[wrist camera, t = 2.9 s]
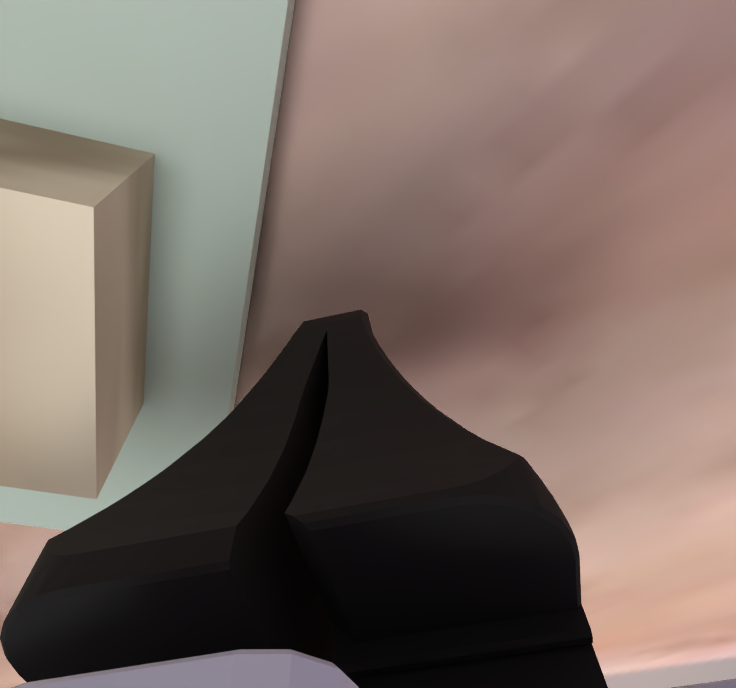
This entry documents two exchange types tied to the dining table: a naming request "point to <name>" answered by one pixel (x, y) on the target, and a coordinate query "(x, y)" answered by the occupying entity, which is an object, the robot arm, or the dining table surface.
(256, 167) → the far plate
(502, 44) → the dining table surface
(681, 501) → the dining table surface
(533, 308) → the dining table surface
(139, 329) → the birch tile
